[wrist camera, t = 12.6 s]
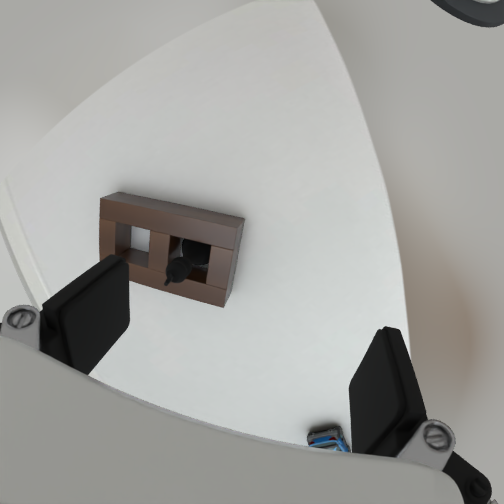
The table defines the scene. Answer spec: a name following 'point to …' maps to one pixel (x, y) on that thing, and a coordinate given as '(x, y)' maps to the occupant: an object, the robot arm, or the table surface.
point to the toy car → (328, 440)
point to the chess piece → (187, 260)
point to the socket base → (171, 244)
